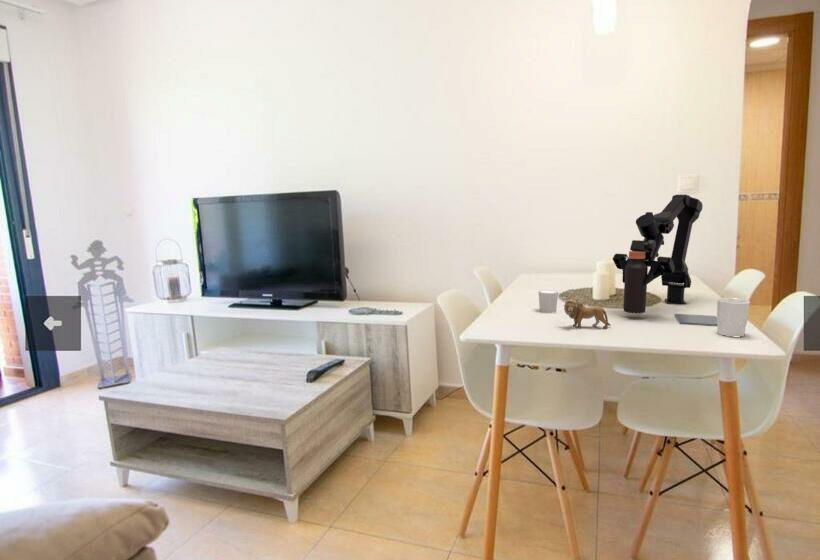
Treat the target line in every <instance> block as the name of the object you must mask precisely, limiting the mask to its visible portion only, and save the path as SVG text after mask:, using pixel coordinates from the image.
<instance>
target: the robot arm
mask: <svg viewBox="0 0 820 560" xmlns="http://www.w3.org/2000/svg"><path fill="white" fill-rule="evenodd" d="M703 207H704V206H703V203H702V201H701V200H700V199H698V198H696V197H692V196H690V195H689V194H674V195H672V198H671V200H670V201H669V202H668V203H667V205H665V207H664V208H663V210H662V211H660V212H658V213H655V214H654V213H653V212H651V211H646V212H645V213H644V214H642V215H640V216H639V217H638V218H636V220H635V225H636V226H637V228H638V229H637V230H638V231H639V234H640V236H641V237H643V240H639V239H638V240H635V239H632V240H631V244H630V248H629V251H645V260H644V263H645V264H646V266H647V267H648V268H649V267H650V268H649V269H648V273H647V276H646V279H645V281H644V285H647V286H648V284H650V283H651V282H653V281H654V280H655V279H657V278H659V277H660V276H661V284H662V286H665V287H666V288H667V289H666V290H667V292H666V298H664V302H665V303H666V304H677V305H678V304H679V305H680V304H681V305H686V304H687V301H686V300H685V289H688V288H691V285H692V279H691V277H690V274H689V267H688V265H687V263H686V257H687V253H688V248H689V243H690V238H691V233H692V227H693V224H695V222H697V220H698V219H699V218H700V214H701V212H702V211H703ZM676 219H677V221H678V223H677V227H676V233H675V237H674V243H673V247H672V250H671V251H672V252H671V255H670V256H671V257H670V256H659V255H660V254H659V251H660V249H661V246H664V245H665V236H664V235H665V234H666V235H668V234H670V233H671V231H673V229H674V227H675V223H674V221H675V220H676ZM629 259H630V258H629V255H627V253H615V254H614V255H613V257H612V261H613V264H614V265H615V267H616V268H617V269H618V270H622V280H621V281H622V283H623V284H624V283H625V267H626V265H627V264H628V263H629V262H630V260H629ZM655 259H656V260H655Z"/></svg>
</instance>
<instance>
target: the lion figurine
mask: <svg viewBox="0 0 820 560" xmlns="http://www.w3.org/2000/svg"><path fill="white" fill-rule="evenodd" d="M563 306H564V308H563V309H564V312H565V314H566V315H567V316H568V317H569V318H570V319H573V321H574V322H573V323H574V324H572V327H574V328H575V329H576V330H577V329H578V330H580V329H581V326H582V320H583V319H584V320H585V319H586V320H589V319H592V318H594V319H595V323H593V324H591V325H592V327H597V326H598V325H599V324H600V322H601V323H603V324H604V325H603V326H602V329H604V330H606V329H608V326H610V327H611V326H612V325H611V324H610V322H609V319H608V315H607V312H606V310H605V309H604V308H603V307H601V306H597V305H595V306H590V307H589V306H588V307H587V306H585V305H583V304H582V303H580V302H578V301H576V300H574V299H567V300H566V301H565V302H564V304H563Z"/></svg>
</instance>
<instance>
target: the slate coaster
mask: <svg viewBox="0 0 820 560" xmlns="http://www.w3.org/2000/svg"><path fill="white" fill-rule="evenodd" d="M674 317H675V318H676V320H677V322H678V323H679V324H680V325H689V326H690V325H691V326H692V325H693V326H706V327H707V326H709V327H717V325H718V324H717V315H704V314H703V315H702V314H687V313H684V314H683V313H674Z"/></svg>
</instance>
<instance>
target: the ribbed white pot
mask: <svg viewBox="0 0 820 560" xmlns="http://www.w3.org/2000/svg"><path fill="white" fill-rule="evenodd" d="M537 293H538V303H539V304H538V305H539V306H538V307H539V312H542V313H549V314H550V313H551V314H552V313H556V312H557V308H558V307H557V305H558V299H559V291H557V290H551V289H550V290H548V289H545V290H538V292H537Z"/></svg>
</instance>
